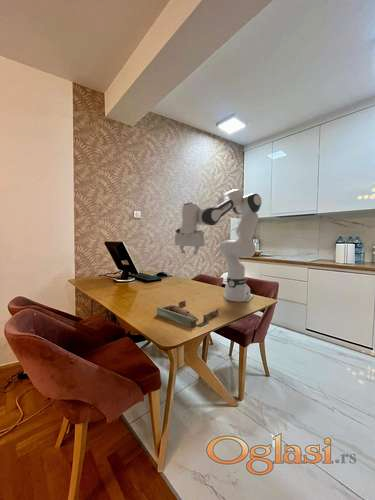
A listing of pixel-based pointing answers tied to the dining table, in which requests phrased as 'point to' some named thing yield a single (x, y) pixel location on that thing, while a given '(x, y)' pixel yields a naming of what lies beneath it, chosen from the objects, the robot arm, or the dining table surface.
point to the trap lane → (181, 318)
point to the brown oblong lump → (182, 312)
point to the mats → (200, 323)
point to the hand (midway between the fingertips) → (189, 253)
